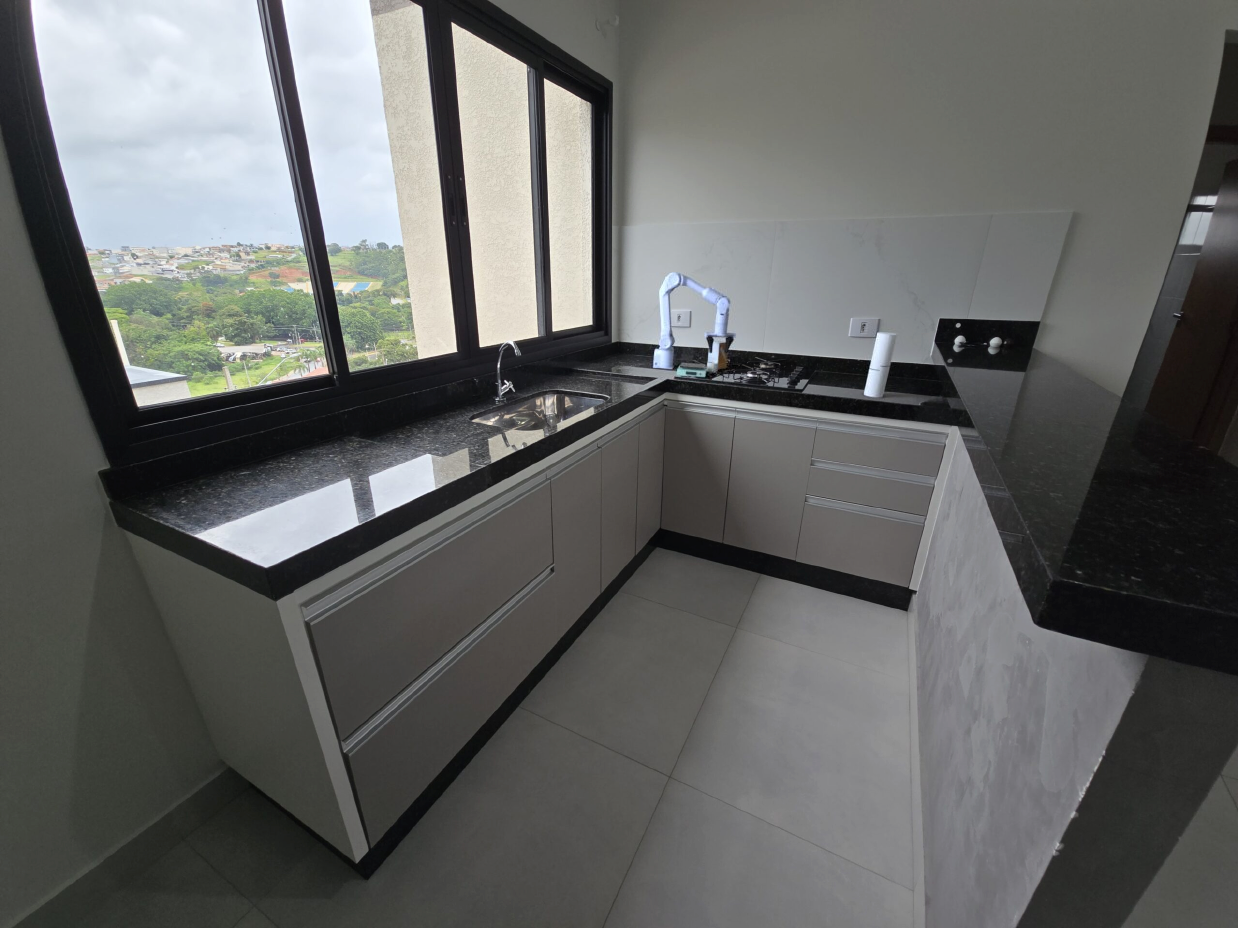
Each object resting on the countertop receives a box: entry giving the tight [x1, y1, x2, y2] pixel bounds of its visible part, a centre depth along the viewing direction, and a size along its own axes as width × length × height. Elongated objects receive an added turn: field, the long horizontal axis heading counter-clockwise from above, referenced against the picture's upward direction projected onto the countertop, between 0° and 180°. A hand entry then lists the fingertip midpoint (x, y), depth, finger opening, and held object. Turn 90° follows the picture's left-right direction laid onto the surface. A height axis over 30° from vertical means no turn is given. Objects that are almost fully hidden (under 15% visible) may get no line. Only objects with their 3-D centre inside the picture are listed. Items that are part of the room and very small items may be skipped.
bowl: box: [706, 361, 719, 374], centre depth 243 cm, size 5×5×4 cm
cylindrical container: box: [863, 331, 898, 398], centre depth 204 cm, size 7×7×25 cm
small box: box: [707, 340, 729, 370], centre depth 251 cm, size 8×6×13 cm
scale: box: [676, 365, 708, 378], centre depth 237 cm, size 13×11×2 cm
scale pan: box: [679, 362, 706, 369], centre depth 236 cm, size 11×9×1 cm
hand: (718, 353), depth 241 cm, fingers open, 7 cm apart
